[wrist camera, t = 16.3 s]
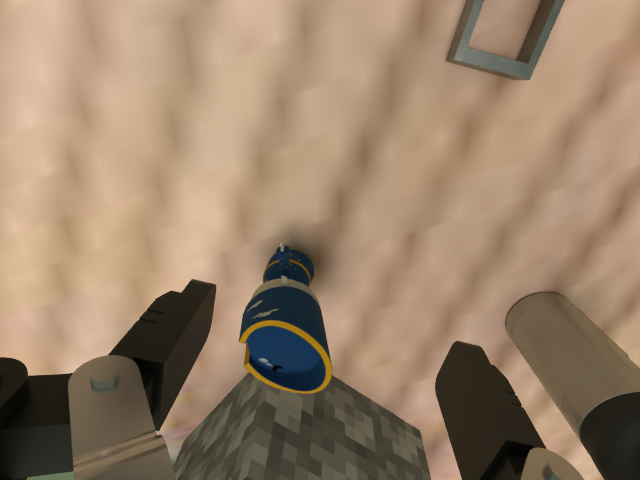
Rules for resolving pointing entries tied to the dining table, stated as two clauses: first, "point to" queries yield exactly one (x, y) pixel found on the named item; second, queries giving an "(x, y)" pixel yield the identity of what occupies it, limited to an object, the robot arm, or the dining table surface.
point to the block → (301, 438)
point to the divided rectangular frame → (498, 64)
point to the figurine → (286, 327)
